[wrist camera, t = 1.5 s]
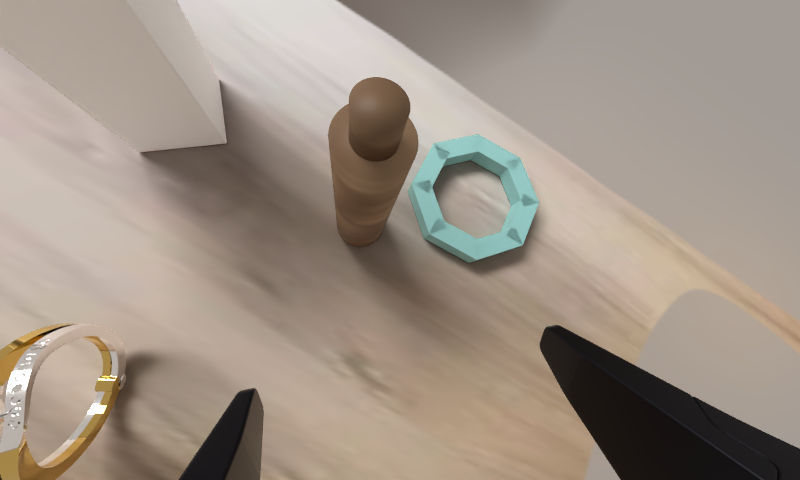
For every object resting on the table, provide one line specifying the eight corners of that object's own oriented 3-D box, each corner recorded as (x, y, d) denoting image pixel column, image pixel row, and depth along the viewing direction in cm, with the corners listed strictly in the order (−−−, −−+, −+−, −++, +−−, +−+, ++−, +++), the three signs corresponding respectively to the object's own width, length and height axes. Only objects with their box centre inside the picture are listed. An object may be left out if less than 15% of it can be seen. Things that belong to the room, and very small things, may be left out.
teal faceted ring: (538, 182, 27) (549, 174, 25) (500, 280, 24) (510, 277, 23) (442, 127, 26) (448, 117, 25) (391, 220, 24) (394, 215, 22)
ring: (129, 446, 17) (-40, 551, 10) (67, 445, 17) (-163, 555, 9) (162, 323, 19) (41, 331, 12) (107, 319, 19) (-59, 325, 11)
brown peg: (390, 217, 24) (448, 92, 10) (369, 254, 23) (403, 171, 9) (351, 195, 23) (358, 40, 10) (328, 233, 22) (302, 116, 9)
